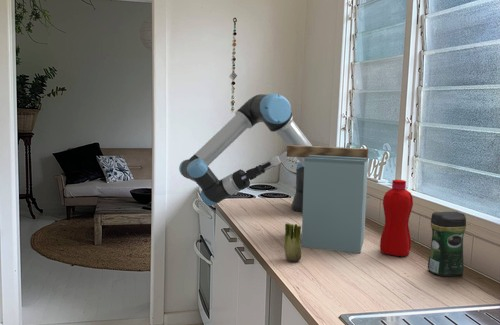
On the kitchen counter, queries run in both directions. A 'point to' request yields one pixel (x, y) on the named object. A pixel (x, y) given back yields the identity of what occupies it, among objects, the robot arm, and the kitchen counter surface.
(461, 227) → the coffee jar
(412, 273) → the kitchen counter surface
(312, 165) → the grey-blue storage bin
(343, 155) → the walnut slat
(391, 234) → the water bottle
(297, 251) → the fennel bulb
